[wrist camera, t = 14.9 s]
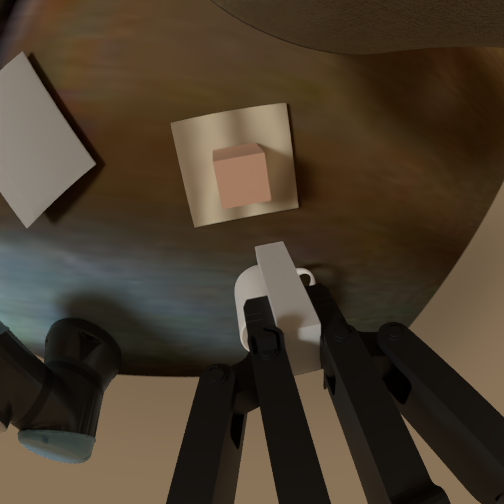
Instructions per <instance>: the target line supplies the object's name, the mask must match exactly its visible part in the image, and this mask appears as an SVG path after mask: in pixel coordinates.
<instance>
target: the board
mask: <svg viewBox="0 0 504 504" xmlns="http://www.w3.org/2000/svg"><path fill="white" fill-rule="evenodd" d="M171 128H172V132H173V137H174V142H175V146H176V151H177V155H178V160H179V164H180V169H181V173H182V177H183V181H184V186H185V190H186V194H187V198H188V202H189V206H190V211H191V215H192V219H193V223H194V227H199V226H204V225H209V224H214V223H219V222H224V221H229V220H234V219H239V218H244V217H250V216H255V215H260V214H266V213H271V212H277V211H282V210H288V209H293V208H298V198H297V188H296V179H295V170H294V161H293V152H292V144H291V136H290V128H289V120H288V113H287V106H286V103H279V104H271V105H263V106H256V107H249V108H243V109H237V110H231V111H225V112H220V113H214V114H209V115H204V116H199V117H195V118H190V119H186V120H181V121H177V122H173V123H171ZM249 143H256V144H257V145H258V146H259V147H260V148H261V149H262V150H263V151H264V153H265V160H266V167H267V174H268V181H269V188H270V195H271V200H270V201H264V202H259V203H253V204H248V205H243V206H238V207H232V208H227V209H222V205H221V200H220V195H219V190H218V185H217V180H216V175H215V170H214V165H213V150H216V149H221V148H226V147H232V146H237V145H243V144H249Z"/></svg>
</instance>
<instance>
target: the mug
mask: <svg viewBox="0 0 504 504" xmlns="http://www.w3.org/2000/svg"><path fill="white" fill-rule="evenodd" d="M296 271H297V273H298V275H299V276H300V275H301V274H309V275H310V277H311V282H310V285H315V278H314V276H313V274H312V273H311V272H310V271H309V270H307V269H305V268H296ZM310 285H309V286H310ZM262 296H264V294H263V290H262V286H261V280H260V274H259V268H258V265H255V266H252V267H250V268H248V269H246V270H245V271H244V272H243V273H242V274H241V275H240V276H239V278H238V279H237V281H236V284H235V301H236V308H237V316H238V323H239V330H240V337H241V342H242V344H243V346H244V347H245V348H246V349H247V350H248V351H249V347H248V343H247V338H248V334H247V328H246V322H245V316H244V311H243V306H244V304H245V301H246V300H247V299H252V298H257V297H262Z"/></svg>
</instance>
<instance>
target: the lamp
mask: <svg viewBox="0 0 504 504" xmlns="http://www.w3.org/2000/svg"><path fill="white" fill-rule="evenodd" d="M211 1H212V2H213V3H215V4H216V5H217V6H219V7H220V8H221V9H223V10H224V11H226V12H227V13H229V14H230V15H232V16H233V17H235V18H237V19H239V20H240V21H242V22H244V23H246V24H247V25H249V26H251V27H253V28H255V29H257V30H259V31H262V32H264V33H266V34H268V35H271V36H273V37H276V38H278V39H281V40H283V41H286V42H289V43H292V44H295V45H299V46H302V47H306V48H310V49H314V50H318V51H324V52H329V53H337V54H346V55H373V54H381V53H387V52H394V51H403V50H413V49H425V48H440V47H502V48H504V0H211Z"/></svg>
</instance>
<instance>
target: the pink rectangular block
mask: <svg viewBox="0 0 504 504" xmlns="http://www.w3.org/2000/svg"><path fill="white" fill-rule="evenodd" d="M213 165H214V170H215V175H216V180H217V185H218V190H219V195H220V200H221V205H222V209H227V208H232V207H238V206H243V205H248V204H253V203H259V202H264V201H270V200H271V195H270V188H269V181H268V174H267V167H266V160H265V153H264V151H263V150H262V149H261V148H260V147H259V146H258V145H257V144H256V143H249V144H243V145H237V146H232V147H226V148H221V149H216V150H213Z"/></svg>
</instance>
